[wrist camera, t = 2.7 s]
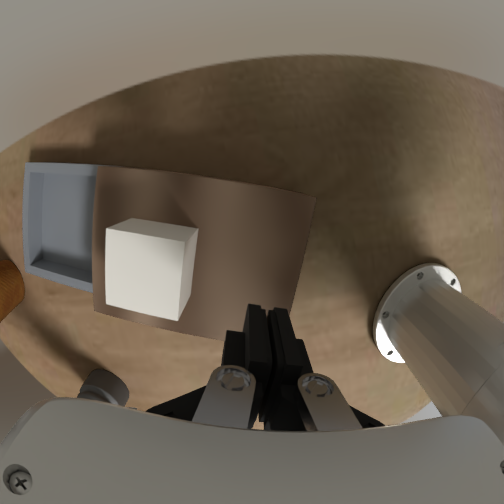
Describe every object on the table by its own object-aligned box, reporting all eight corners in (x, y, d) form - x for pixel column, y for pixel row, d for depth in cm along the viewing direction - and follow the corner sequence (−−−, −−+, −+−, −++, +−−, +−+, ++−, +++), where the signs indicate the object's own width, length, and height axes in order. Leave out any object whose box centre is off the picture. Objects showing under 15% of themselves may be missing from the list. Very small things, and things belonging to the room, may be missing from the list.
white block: (198, 228, 19) (185, 242, 15) (190, 294, 20) (177, 321, 16) (132, 217, 18) (106, 228, 15) (129, 282, 20) (106, 303, 16)
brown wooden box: (301, 192, 24) (316, 197, 18) (274, 314, 27) (280, 348, 21) (129, 166, 23) (97, 166, 17) (121, 285, 26) (94, 311, 21)
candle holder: (84, 364, 29) (-7, 503, 5) (124, 374, 30) (43, 538, 5) (96, 396, 31) (26, 526, 7) (133, 406, 31) (74, 554, 7)
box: (129, 166, 23) (115, 166, 20) (121, 285, 26) (108, 297, 23) (42, 162, 23) (25, 162, 20) (40, 264, 26) (25, 271, 23)
